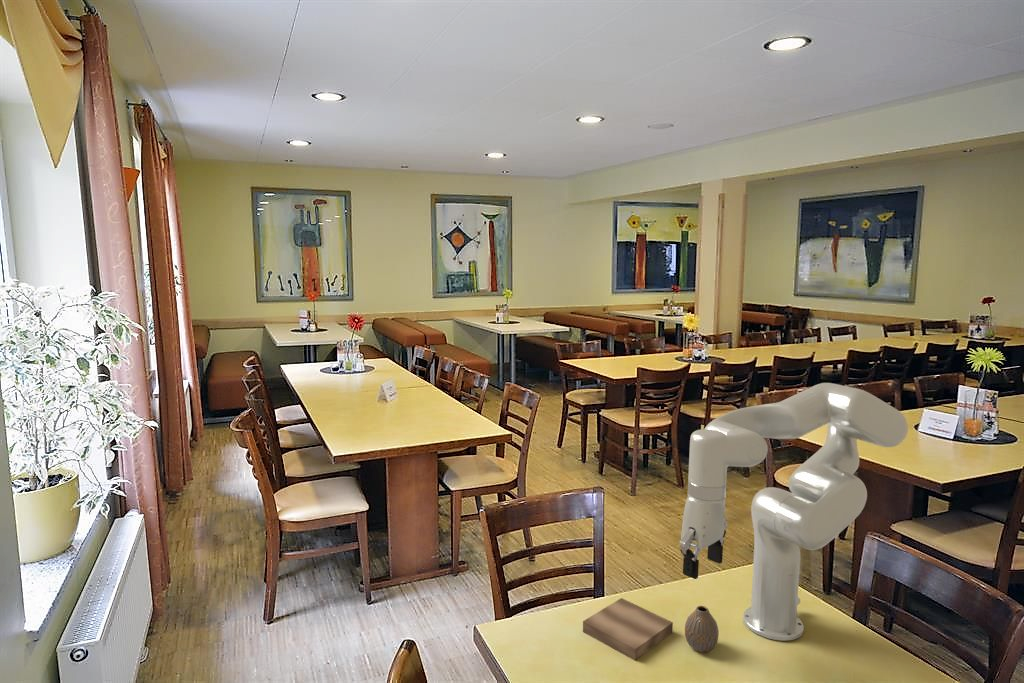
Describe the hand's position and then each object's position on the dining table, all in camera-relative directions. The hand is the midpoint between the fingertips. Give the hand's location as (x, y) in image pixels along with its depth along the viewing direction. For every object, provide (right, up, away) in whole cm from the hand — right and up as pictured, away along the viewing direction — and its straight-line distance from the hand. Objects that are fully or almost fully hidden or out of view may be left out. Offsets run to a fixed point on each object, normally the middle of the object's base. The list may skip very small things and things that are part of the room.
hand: (702, 568), depth 133 cm
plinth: (-14, -17, +8) cm, 24 cm away
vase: (0, -18, +2) cm, 18 cm away
